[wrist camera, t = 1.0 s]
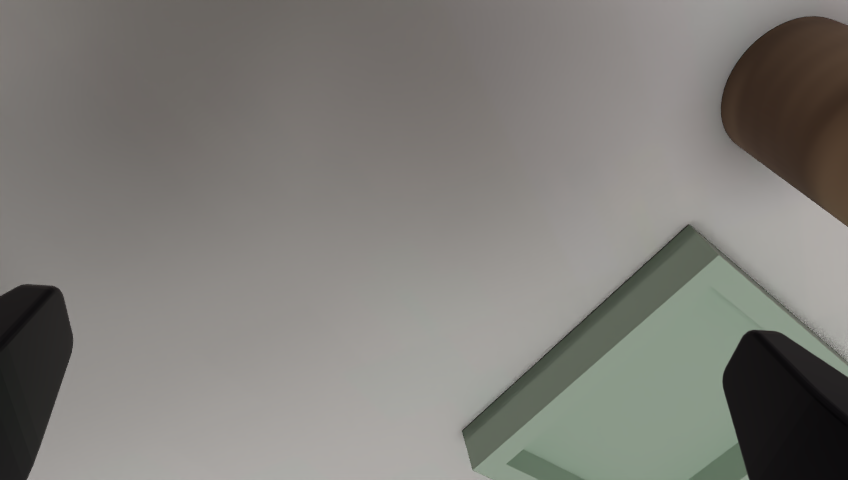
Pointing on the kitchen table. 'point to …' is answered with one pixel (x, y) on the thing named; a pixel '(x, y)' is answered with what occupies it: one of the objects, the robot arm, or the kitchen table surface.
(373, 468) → the kitchen table surface
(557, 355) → the tray
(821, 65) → the mill
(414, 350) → the kitchen table surface
